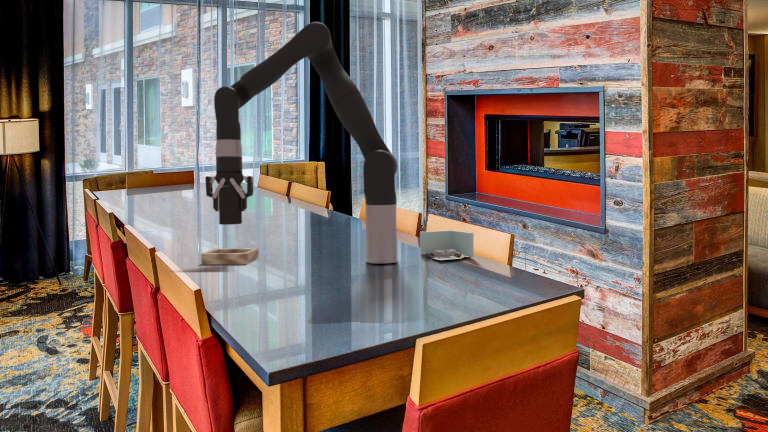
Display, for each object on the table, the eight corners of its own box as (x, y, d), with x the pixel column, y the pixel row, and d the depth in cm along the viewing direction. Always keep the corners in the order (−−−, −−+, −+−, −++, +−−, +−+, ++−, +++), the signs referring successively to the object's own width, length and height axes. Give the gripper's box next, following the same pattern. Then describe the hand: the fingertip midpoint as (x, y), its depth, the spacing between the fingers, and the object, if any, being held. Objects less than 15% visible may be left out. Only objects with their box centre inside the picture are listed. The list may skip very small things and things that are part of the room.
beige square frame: (258, 258, 191) (258, 248, 191) (247, 264, 178) (247, 253, 178) (216, 258, 192) (215, 248, 192) (201, 264, 179) (201, 253, 178)
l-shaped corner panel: (420, 255, 195) (419, 232, 195) (452, 253, 200) (452, 230, 200) (440, 260, 184) (439, 234, 184) (473, 257, 190) (473, 233, 189)
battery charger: (239, 223, 188) (239, 185, 187) (243, 224, 184) (242, 186, 184) (216, 224, 185) (215, 186, 184) (219, 225, 181) (218, 186, 181)
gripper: (256, 155, 187) (257, 210, 188) (209, 156, 187) (210, 210, 188) (249, 155, 179) (250, 211, 180) (200, 155, 180) (202, 211, 181)
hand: (230, 211), depth 184 cm, fingers closed on battery charger, 7 cm apart
